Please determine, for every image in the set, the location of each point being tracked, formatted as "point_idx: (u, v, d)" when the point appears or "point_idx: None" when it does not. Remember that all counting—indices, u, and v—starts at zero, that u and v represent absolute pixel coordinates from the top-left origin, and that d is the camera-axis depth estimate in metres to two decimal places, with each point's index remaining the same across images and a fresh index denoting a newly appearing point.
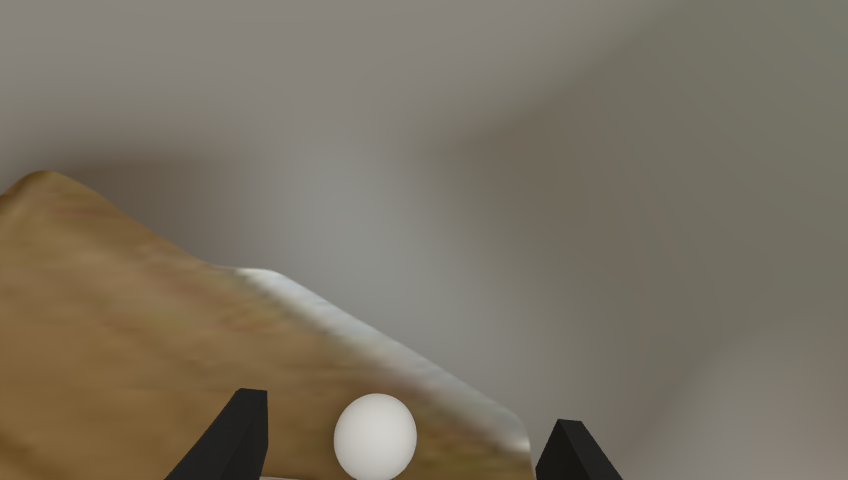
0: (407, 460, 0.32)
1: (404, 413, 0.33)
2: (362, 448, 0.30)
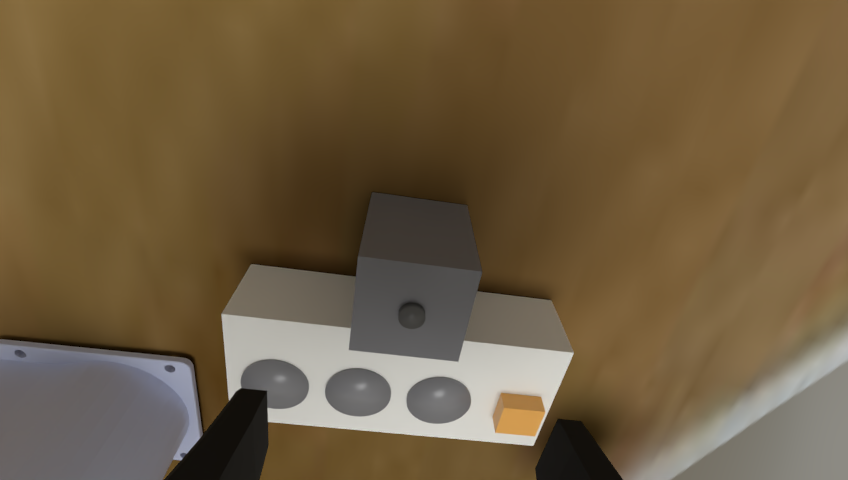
0: None
1: None
2: None
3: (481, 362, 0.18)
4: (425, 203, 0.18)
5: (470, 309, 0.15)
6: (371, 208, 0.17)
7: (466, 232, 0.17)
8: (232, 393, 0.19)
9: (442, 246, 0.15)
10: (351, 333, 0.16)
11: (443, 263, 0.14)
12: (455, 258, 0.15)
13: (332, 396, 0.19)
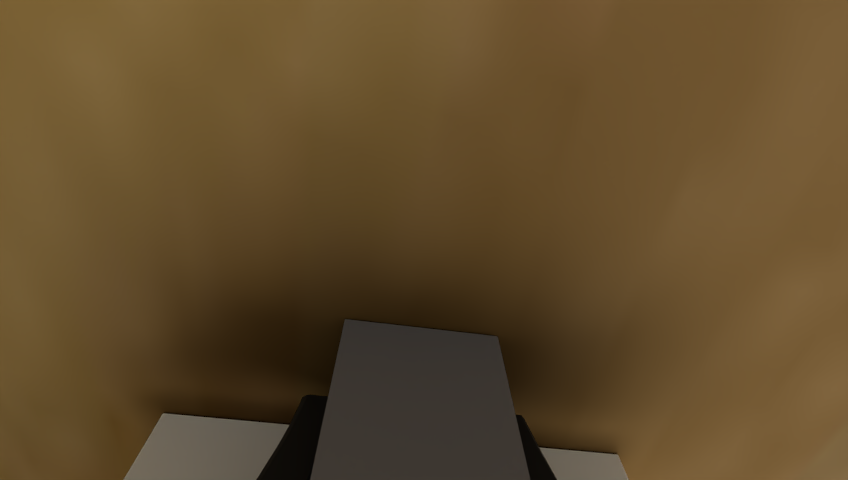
0: None
1: None
2: None
3: None
4: (431, 340, 0.11)
5: None
6: (340, 363, 0.10)
7: (503, 413, 0.10)
8: None
9: (464, 465, 0.08)
10: None
11: None
12: None
13: None
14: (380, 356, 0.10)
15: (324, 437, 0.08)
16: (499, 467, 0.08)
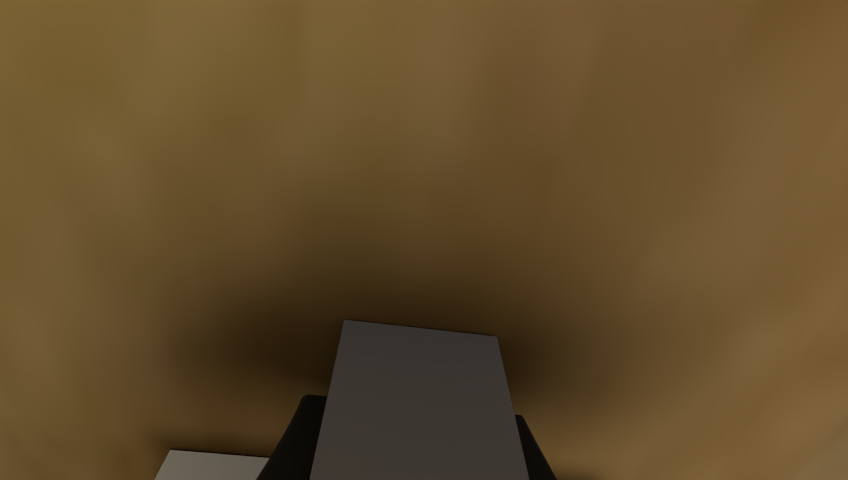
0: None
1: None
2: None
3: None
4: (431, 340, 0.11)
5: None
6: (339, 364, 0.10)
7: (502, 413, 0.10)
8: None
9: (462, 465, 0.08)
10: None
11: None
12: None
13: None
14: (379, 356, 0.10)
15: (323, 437, 0.08)
16: (498, 467, 0.08)
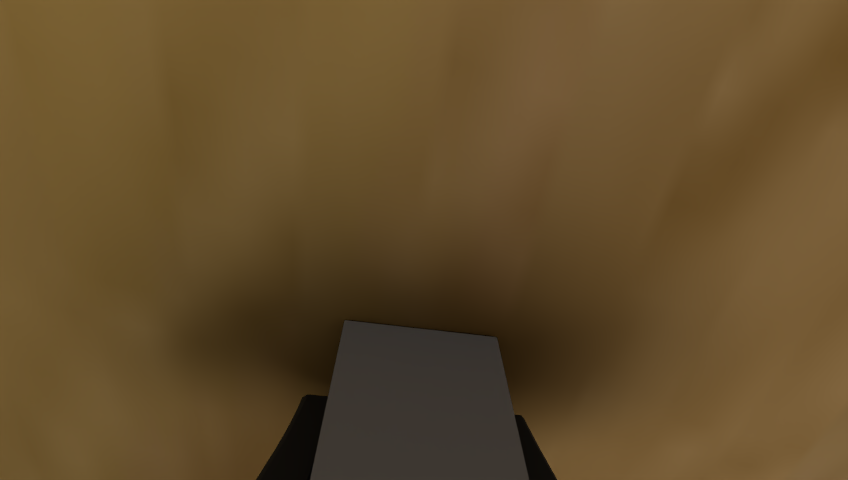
0: None
1: None
2: None
3: None
4: (431, 341, 0.11)
5: None
6: (340, 364, 0.10)
7: (502, 414, 0.10)
8: None
9: (462, 466, 0.08)
10: None
11: None
12: None
13: None
14: (380, 357, 0.10)
15: (324, 438, 0.08)
16: (498, 468, 0.08)
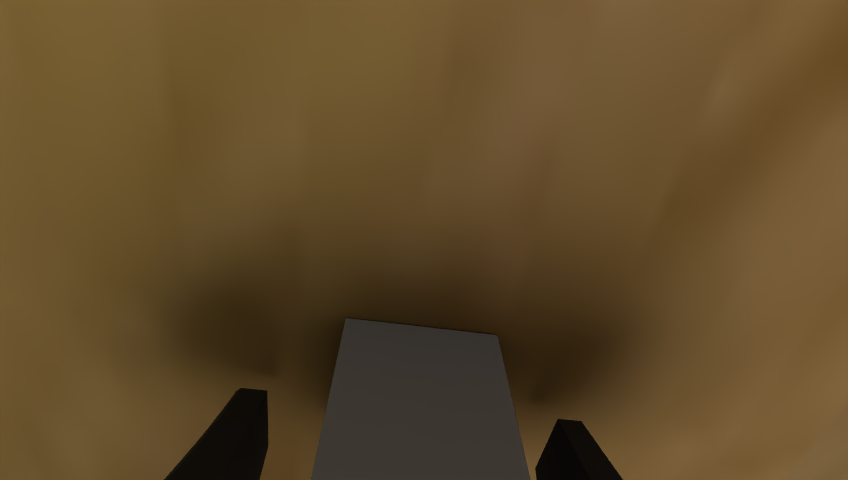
0: None
1: None
2: None
3: None
4: (431, 338, 0.11)
5: None
6: (341, 362, 0.10)
7: (502, 411, 0.10)
8: None
9: (463, 463, 0.08)
10: None
11: None
12: None
13: None
14: (381, 355, 0.11)
15: (325, 435, 0.08)
16: (498, 465, 0.09)
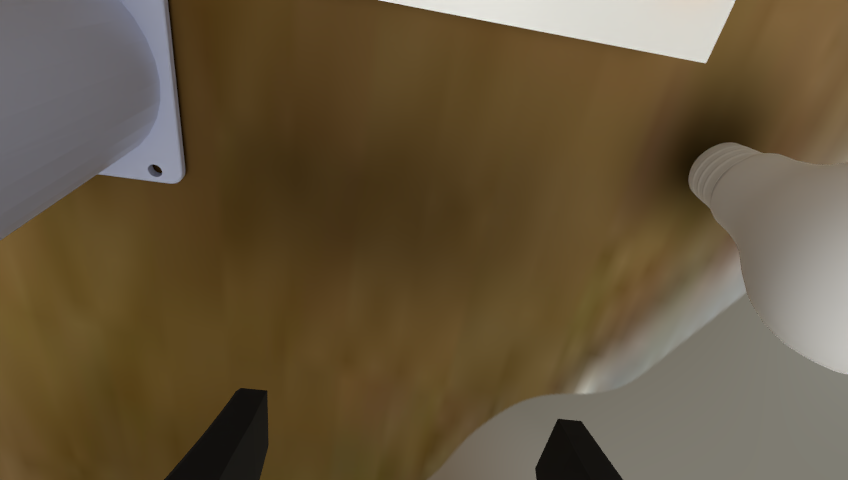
0: (827, 365, 0.12)
1: None
2: None
3: None
4: None
5: None
6: None
7: None
8: None
9: None
10: None
11: None
12: None
13: None
14: None
15: None
16: None
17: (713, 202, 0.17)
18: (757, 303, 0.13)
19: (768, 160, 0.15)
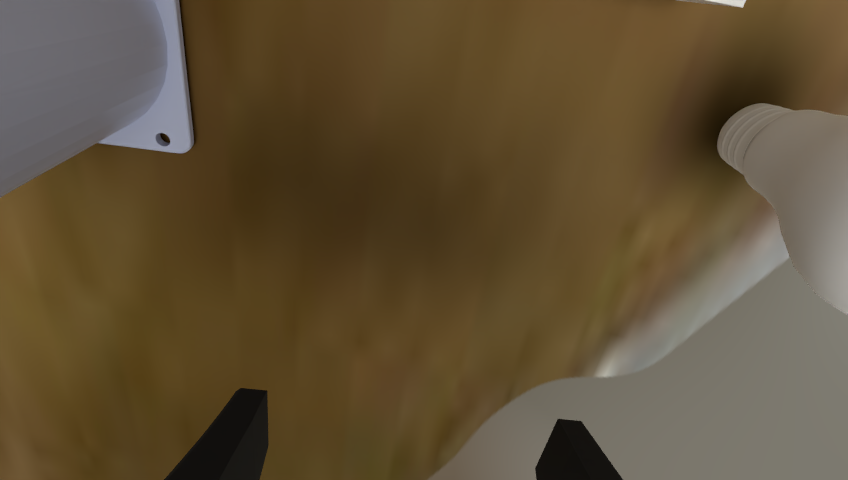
0: None
1: None
2: None
3: None
4: None
5: None
6: None
7: None
8: None
9: None
10: None
11: None
12: None
13: None
14: None
15: None
16: None
17: (746, 164, 0.16)
18: (801, 261, 0.12)
19: (807, 115, 0.15)
